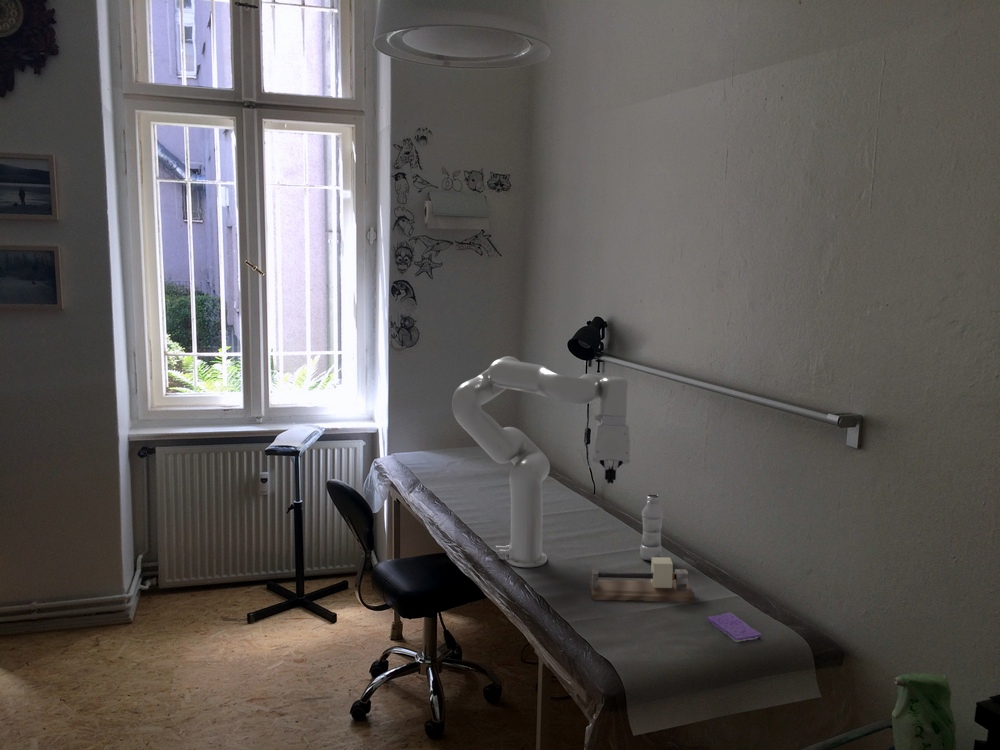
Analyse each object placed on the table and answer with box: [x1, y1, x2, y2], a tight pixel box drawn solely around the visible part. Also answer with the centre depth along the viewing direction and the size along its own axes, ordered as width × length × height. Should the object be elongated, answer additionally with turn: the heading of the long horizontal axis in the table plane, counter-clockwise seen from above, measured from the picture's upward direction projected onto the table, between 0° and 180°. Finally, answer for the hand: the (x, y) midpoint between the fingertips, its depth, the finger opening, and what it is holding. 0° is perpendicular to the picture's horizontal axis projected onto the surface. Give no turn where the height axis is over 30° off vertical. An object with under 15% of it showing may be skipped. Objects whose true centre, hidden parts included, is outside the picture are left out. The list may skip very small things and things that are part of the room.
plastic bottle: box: [639, 494, 664, 562], centre depth 241 cm, size 6×7×20 cm
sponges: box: [707, 612, 762, 640], centre depth 197 cm, size 7×13×2 cm, turn 19°
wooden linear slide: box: [589, 568, 695, 603], centre depth 217 cm, size 27×10×6 cm, turn 88°
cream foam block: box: [650, 556, 674, 588], centre depth 217 cm, size 5×5×7 cm
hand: (610, 482), depth 230 cm, fingers closed
